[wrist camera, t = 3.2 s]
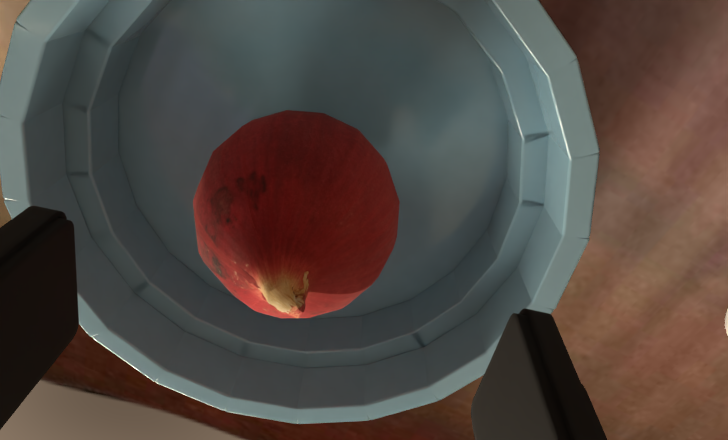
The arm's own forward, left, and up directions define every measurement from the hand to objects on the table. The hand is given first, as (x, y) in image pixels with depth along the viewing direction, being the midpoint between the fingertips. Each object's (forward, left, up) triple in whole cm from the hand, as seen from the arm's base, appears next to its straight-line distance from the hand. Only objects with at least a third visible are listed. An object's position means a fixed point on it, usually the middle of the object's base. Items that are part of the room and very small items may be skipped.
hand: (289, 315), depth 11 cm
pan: (0, 0, -9) cm, 9 cm away
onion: (0, 0, -9) cm, 9 cm away
